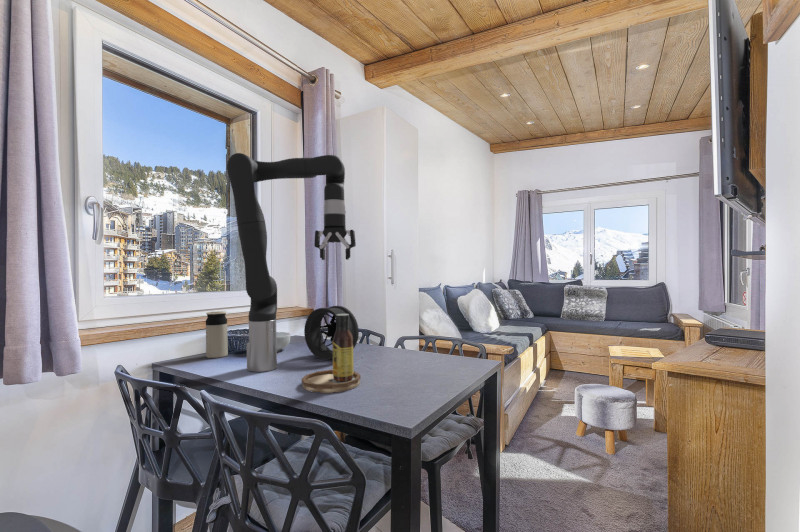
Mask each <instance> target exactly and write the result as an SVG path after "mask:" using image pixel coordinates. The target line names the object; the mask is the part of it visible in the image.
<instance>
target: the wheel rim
mask: <svg viewBox="0 0 800 532" xmlns="http://www.w3.org/2000/svg"><path fill="white" fill-rule="evenodd" d="M330 314H331V315H330ZM337 314H349V330H350V332H351V333H352V336H353V350H354V349H355V348H356V345H357V343H358V342H359V341H358V340H359V334H360V331H359V325H358V321H357V319H356V316H354V314H353V313H352V312H351V311H350V310H349V309H348V308H346V307H345V306H341V305H332V306H329V307H328V308H325V307H320V308H316V309H314V310H313V311H312V312H310V314H309V315H308V316H307V318H306V320H305V323H304V327H303V328H304V331H303V334H304V340H305V344H306V346H307V347H308V349H309V351H310V352H311V353H312V355H313V356H315V357H316V358H318V359H319V360H323V359H324V361H325V360H331V359H332V360H333V349H330V348H329V346H332V340H333V337H334V334H335V331H336V315H337ZM326 316H328V317H330V318H331V319H330V321H329V323H328V321H327V318H326ZM323 320H324V323H325V324H324V325H322V321H323ZM322 328H323V329H326V328H327V331H325V330H322ZM322 334H324V335H326V336H325V338H324V340H323V337H322ZM328 338H330V339H329V340H330V341H331V343H329V344H327V345H326V343H327V339H328Z"/></svg>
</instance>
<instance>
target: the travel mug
mask: <svg viewBox="0 0 800 532" xmlns="http://www.w3.org/2000/svg"><path fill="white" fill-rule="evenodd" d="M226 313H227V311H223V310H217V311H208V312H206V313H205V314H206V317H207V318H206V319H205V353H206V355H205V356H206V358H208V359H219V358H224V357H226V356H228V354H229V353H228V351H229V350H228V347H229V346H228V345H229V344H228V343H229V342H228V319H227V317H226Z"/></svg>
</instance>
